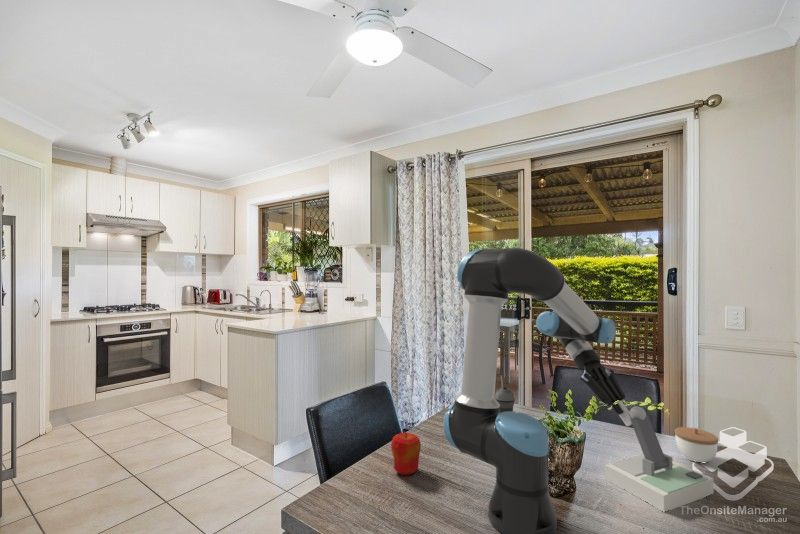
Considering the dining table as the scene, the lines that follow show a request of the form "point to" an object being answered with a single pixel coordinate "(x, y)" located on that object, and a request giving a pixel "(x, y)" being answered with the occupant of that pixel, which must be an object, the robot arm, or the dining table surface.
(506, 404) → the beverage cup
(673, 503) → the switch box
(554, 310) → the robot arm
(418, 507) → the dining table surface
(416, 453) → the apple
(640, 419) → the toggle lever
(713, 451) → the lidded jar
